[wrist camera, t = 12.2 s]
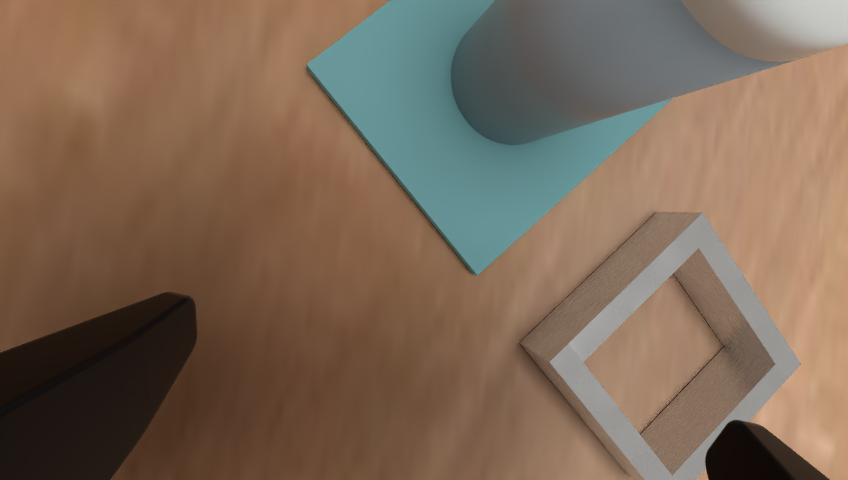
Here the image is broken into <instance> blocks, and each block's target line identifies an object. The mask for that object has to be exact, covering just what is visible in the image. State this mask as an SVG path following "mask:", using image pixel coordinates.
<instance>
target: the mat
mask: <svg viewBox="0 0 848 480" xmlns="http://www.w3.org/2000/svg"><path fill="white" fill-rule="evenodd" d="M494 1H495V0H390V1H389V2H388V3H386V4H385V5H384V6H382V7H381V8H380V9H378V10H377V11H376V12H375V13H373V14H372V15H371V16H369V17H368V18H367V19H365V20H364V21H363V22H362V23H360V24H359V25H358V26H356V27H355V28H354V29H352V30H351V31H350V32H348V33H347V34H346V35H345V36H343V37H342V38H341V39H339V40H338V41H337V42H335V43H334V44H333V45H331V46H330V47H329V48H328V49H326V50H325V51H324V52H322V53H321V54H320V55H318V56H317V57H316V58H315V59H313V60H312V61H311V62H309V63H308V64H307V70H308V72H309V73H310V74H311V75H312V77H313V78H314V79H315V80H316V81H317V83H318V84H319V85H320V86H321V88H322V89H323V90H324V91H325V93H326V94H327V95H328V96H329V97H330V99H331V100H332V101H333V102H334V104H335V105H336V106H337V107H338V109H339V110H340V111H341V112H342V113H343V115H344V116H345V117H346V118H347V120H348V121H349V122H350V123H351V125H352V126H353V127H354V128H355V129H356V131H357V132H358V133H359V134H360V136H361V137H362V138H363V139H364V141H365V142H366V143H367V144H368V146H369V147H370V148H371V149H372V150H373V152H374V153H375V154H376V155H377V157H378V158H379V159H380V160H381V162H382V163H383V164H384V165H385V166H386V168H387V169H388V170H389V171H390V173H391V174H392V175H393V176H394V178H395V179H396V180H397V181H398V182H399V184H400V185H401V186H402V187H403V189H404V190H405V191H406V192H407V194H408V195H409V196H410V197H411V198H412V200H413V201H414V202H415V203H416V205H417V206H418V207H419V208H420V210H421V211H422V212H423V213H424V214H425V216H426V217H427V218H428V219H429V221H430V222H431V223H432V224H433V226H434V227H435V228H436V229H437V230H438V232H439V233H440V234H441V235H442V237H443V238H444V239H445V240H446V242H447V243H448V244H449V245H450V246H451V248H452V249H453V250H454V251H455V253H456V254H457V255H458V256H459V258H460V259H461V260H462V261H463V262H464V264H465V265H466V266H467V267H468V269H469V270H470V271H471V272H472V273H473V274H475V275H479V274H480V273H481V272H482V271H483V270H484V269H485V268H486V267H487V266H489V265H490V264H491V263H492V262H493V261H494V260H495V259H496V258H497V257H498V256H500V255H501V254H502V253H503V252H504V251H505V250H506V249H507V248H508V247H509V246H511V245H512V244H513V243H514V242H515V241H516V240H517V239H518V238H519V237H520V236H522V235H523V234H524V233H525V232H526V231H527V230H528V229H529V228H530V227H531V226H533V225H534V224H535V223H536V222H537V221H538V220H539V219H540V218H541V217H542V216H544V215H545V214H546V213H547V212H548V211H549V210H550V209H551V208H552V207H553V206H555V205H556V204H557V203H558V202H559V201H560V200H561V199H562V198H563V197H564V196H566V195H567V194H568V193H569V192H570V191H571V190H572V189H573V188H574V187H575V186H577V185H578V184H579V183H580V182H581V181H582V180H583V179H584V178H585V177H587V176H588V175H589V174H590V173H591V172H592V171H593V170H594V169H595V168H596V167H598V166H599V165H600V164H601V163H602V162H603V161H604V160H605V159H606V158H607V157H609V156H610V155H611V154H612V153H613V152H614V151H615V150H616V149H617V148H618V147H620V146H621V145H622V144H623V143H624V142H625V141H626V140H627V139H628V138H629V137H631V136H632V135H633V134H634V133H635V132H636V131H637V130H638V129H639V128H640V127H642V126H643V125H644V124H645V123H646V122H647V121H648V120H649V119H650V118H651V117H653V116H654V115H655V114H656V113H657V112H658V111H659V110H660V109H661V108H662V107H664V106H665V105H666V104H667V103H668V102H669V101H670V100H671V99H672V98H671V99H668V100H665V101H661V102H658V103H655V104H652V105H648V106H645V107H642V108H639V109H636V110H632V111H629V112H626V113H623V114H619V115H616V116H613V117H610V118H606V119H603V120H600V121H597V122H593V123H590V124H587V125H584V126H581V127H577V128H574V129H571V130H568V131H564V132H561V133H558V134H555V135H551V136H548V137H545V138H542V139H538V140H535V141H532V142H529V143H526V144H519V145H508V144H501V143H498V142H494V141H492V140H490V139H488V138H486V137H484V136H483V135H481V134H480V133H478V132H477V131H476V130H475V129H474V128H473V127H472V126H471V125H470V124H469V123H468V122H467V121H466V119H465V118H464V117H463V115H462V113H461V112H460V110H459V108H458V106H457V103H456V101H455V98H454V94H453V90H452V84H451V69H452V62H453V57H454V54H455V51H456V49H457V47H458V45H459V43H460V41H461V39H462V38H463V37H464V35H465V34H466V33H467V32H468V30H469V29H470V28H471V27H472V26H473V25H474V24H475V22H476V21H477V20H478V19H479V18H480V17H481V16H482V15H483V13H484V12H485V11H486V10H487V9H488V8H489V7H490V5H491V4H492V3H493V2H494Z"/></svg>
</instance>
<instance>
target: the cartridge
mask: <svg viewBox="0 0 848 480" xmlns="http://www.w3.org/2000/svg"><path fill="white" fill-rule="evenodd" d="M846 44H848V0H495V1H494V2H493V3H492V4H491V5H490V7H489V8H488V9H487V10H486V11H485V12H484V13H483V15H482V16H481V17H480V18H479V19H478V20H477V21H476V22H475V24H474V25H473V26H472V27H471V28H470V29H469V30H468V32H467V33H466V34H465V35H464V37H463V38H462V39H461V41H460V43H459V45H458V47H457V49H456V51H455V54H454V57H453V62H452V69H451V84H452V90H453V94H454V98H455V101H456V103H457V106H458V108H459V110H460V112H461V113H462V115H463V117H464V118H465V119H466V121H467V122H468V123H469V124H470V125H471V126H472V127H473V128H474V129H475V130H476V131H477V132H478V133H480V134H481V135H483V136H484V137H486V138H488V139H490V140H492V141H494V142H498V143H501V144H508V145H519V144H526V143H529V142H532V141H535V140H538V139H542V138H545V137H548V136H551V135H555V134H558V133H561V132H564V131H568V130H571V129H574V128H577V127H581V126H584V125H587V124H590V123H593V122H597V121H600V120H603V119H606V118H610V117H613V116H616V115H619V114H623V113H626V112H629V111H632V110H636V109H639V108H642V107H645V106H648V105H652V104H655V103H658V102H661V101H665V100H668V99H671V98H674V97H678V96H681V95H684V94H687V93H691V92H694V91H697V90H700V89H703V88H707V87H710V86H713V85H716V84H720V83H723V82H726V81H729V80H733V79H736V78H739V77H742V76H746V75H749V74H752V73H755V72H758V71H762V70H765V69H768V68H771V67H775V66H778V65H781V64H784V63H788V62H791V61H794V60H797V59H800V58H804V57H807V56H810V55H813V54H817V53H820V52H823V51H826V50H830V49H833V48H836V47H839V46H843V45H846Z"/></svg>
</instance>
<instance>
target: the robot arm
mask: <svg viewBox="0 0 848 480" xmlns="http://www.w3.org/2000/svg"><path fill="white" fill-rule="evenodd" d="M196 339H197V325H196V308H195V302H194V300H193V298H191V297H190V296H186V295H182V294H178V293H173V292H165V293H162V294H159V295H156V296H154V297H151V298H148V299H146V300H143V301H140V302H137V303H135V304H132V305H129V306H126V307H124V308H121V309H118V310H115V311H113V312H110V313H107V314H104V315H102V316H99V317H96V318H94V319H91V320H88V321H85V322H83V323H80V324H77V325H74V326H72V327H69V328H66V329H63V330H61V331H58V332H55V333H52V334H50V335H47V336H44V337H41V338H39V339H36V340H33V341H31V342H28V343H25V344H22V345H20V346H17V347H14V348H11V349H9V350H6V351H3V352H0V480H110V479H111V478H112V477H113V475H114V474H115V473H116V471H117V470H118V468H119V467H120V466H121V464H122V463H123V462H124V460H125V459H126V457H127V456H128V455H129V453H130V452H131V451H132V449H133V448H134V446H135V445H136V444H137V442H138V441H139V439H140V438H141V436H142V435H143V433H144V432H145V430H146V429H147V427H148V426H149V424H150V422H151V421H152V419H153V417H154V416H155V414H156V412H157V411H158V409H159V407H160V405H161V404H162V402H163V400H164V399H165V397H166V395H167V393H168V392H169V390H170V388H171V387H172V385H173V383H174V381H175V380H176V378H177V376H178V374H179V373H180V371H181V369H182V368H183V366H184V364H185V362H186V361H187V359H188V357H189V356H190V354H191V352H192V350H193V348H194V346H195V343H196ZM705 466H706V471H707V475H708V479H709V480H830V479H828V478H827V477H826V476H825V475H823V474H822V473H821V472H820V471H818V470H817V469H816V468H815V467H813V466H812V465H811V464H810V463H808V462H807V461H806V460H805V459H803V458H802V457H801V456H800V455H798V454H797V453H796V452H794V451H793V450H792V449H791V448H789V447H788V446H787V445H786V444H784V443H783V442H782V441H781V440H779V439H778V438H777V437H776V436H774V435H773V434H772V433H771V432H769V431H768V430H767V429H766V428H764V427H763V426H761V425H758V424H755V423H750V422H746V421H741V420H732V421H730V422H728V423H727V424H726V425H725V427H724V428H723V430H722V431H721V432H720V434H719V435H718V436H717V438H716V439H715V440H714V442H713V443H712V445H711V446H710V447H709V449H708V450H707V453H706V457H705Z"/></svg>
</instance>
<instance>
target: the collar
mask: <svg viewBox="0 0 848 480" xmlns="http://www.w3.org/2000/svg"><path fill="white" fill-rule="evenodd" d="M673 273H674V275H675V276H676V278H677V279H678V280H679V282H680V283H681V285H682V286H683V288H684V289H685V291H686V292H687V294H688V295H689V296H690V298H691V299H692V301H693V302H694V304H695V305H696V307H697V308H698V309H699V311H700V312H701V314H702V315H703V317H704V318H705V320H706V321H707V323H708V324H709V325H710V327H711V328H712V330H713V331H714V333H715V334H716V336H717V337H718V338H719V340H720V341H721V343H722V344H723V346H724V347H723V348H722V349H721V351H720V352H719V353H718V354H717V355H716V356H715V357H714V358H713V359H712V360H711V361H710V362H709V363H708V364H707V365H706V366H705V367H704V368H703V369H702V370H701V371H700V372H699V374H698V375H697V376H696V377H695V378H694V379H693V380H692V381H691V382H690V383H689V384H688V385H687V386H686V387H685V388H684V389H683V390H682V391H681V392H680V393H679V394H678V395H677V397H676V398H675V399H674V400H673V401H672V402H671V403H670V404H669V405H668V406H667V407H666V408H665V409H664V410H663V411H662V412H661V413H660V414H659V415H658V416H657V417H656V418H655V420H654V421H653V422H652V423H651V424H650V425H649V426H648V427H647V428H646V429H645V430H644V431H643V432H642V433H641V434H639V433H638V431H637V430H636V429H635V428H634V426H633V425H632V424H631V423H630V421H629V420H628V419H627V417H626V416H625V415H624V414H623V412H622V411H621V410H620V409H619V407H618V406H617V405H616V403H615V402H614V401H613V400H612V398H611V397H610V396H609V395H608V393H607V392H606V391H605V390H604V388H603V387H602V386H601V384H600V383H599V382H598V381H597V379H596V378H595V377H594V376H593V374H592V373H591V372H590V370H589V369H588V368H587V367H586V365H585V364H584V363H583V362H584V361H585V360H586V359H587V358H588V357H589V356H590V355H591V354H592V353H593V352H594V351H595V350H596V349H597V348H598V347H599V346H600V345H601V344H602V343H603V342H604V341H605V340H606V339H607V338H608V337H609V336H610V335H611V334H612V333H613V332H614V331H615V330H616V329H617V328H618V327H619V326H620V325H621V324H622V323H623V322H624V321H625V320H626V319H627V318H628V317H629V316H630V315H632V314H633V313H634V312H635V311H636V310H637V309H638V308H639V307H640V306H641V305H642V304H643V303H644V302H645V301H646V300H647V299H648V298H649V297H650V296H651V295H652V294H653V293H654V292H655V291H656V290H657V289H658V288H659V287H660V286H661V285H662V284H663V283H664V282H665V281H666V280H667V279H668V278H669V277H670V276H671V275H672V274H673ZM520 344H521V345H522V346H523V347H524V349H525V350H526V351H527V352H528V354H529V355H530V356H531V357H532V358H533V360H534V361H535V362H536V363H537V365H538V366H539V367H540V368H541V369H542V371H543V372H544V373H545V374H546V376H547V377H548V378H549V379H550V380H551V382H552V383H553V384H554V385H555V387H556V388H557V389H558V390H559V391H560V393H561V394H562V395H563V396H564V398H565V399H566V400H567V401H568V402H569V404H570V405H571V406H572V407H573V409H574V410H575V411H576V412H577V413H578V415H579V416H580V417H581V418H582V420H583V421H584V422H585V423H586V424H587V426H588V427H589V428H590V429H591V431H592V432H593V433H594V434H595V435H596V437H597V438H598V439H599V440H600V442H601V443H602V444H603V445H604V446H605V448H606V449H607V450H608V451H609V453H610V454H611V455H612V456H613V457H614V459H615V460H616V461H617V462H618V464H619V465H620V466H621V467H622V468H623V470H624V471H625V472H626V473H627V474H628V475H629V476H630V477H631V478H632V479H633V480H695V479H696V478H697V477H698V476H699V475H700V474H701V473H702V472H703V471H704V470H705V469H706V466H705V457H706V453H707V450H708V449H709V447H710V446H711V445H712V443H713V442H714V440H715V439H716V438H717V436H718V435H719V434H720V432H721V431H722V430H723V428H724V427H725V425H726V424H727V423H728V422H730V421H732V420H741V421H746V422H749V420H750V419H751V418H752V417H753V416H754V415H755V414H756V413H757V412H758V411H759V410H760V408H761V407H762V406H763V405H764V404H765V403H766V402H767V401H768V400H769V399H770V398H771V396H772V395H773V394H774V393H775V392H776V391H777V390H778V389H779V388H780V387H781V386H782V384H783V383H784V382H785V381H786V380H787V379H788V378H789V377H790V376H791V375H792V374H793V372H794V371H795V370H796V369H797V368H798V367H799V366H800V365H801V363H800V362H799V360H798V359H797V357H796V356H795V354H794V353H793V351H792V350H791V348H790V346H789V345H788V343H787V342H786V340H785V339H784V337H783V336H782V334H781V333H780V331H779V329H778V328H777V326H776V325H775V323H774V322H773V320H772V319H771V317H770V316H769V314H768V312H767V311H766V309H765V308H764V306H763V305H762V303H761V302H760V300H759V299H758V297H757V295H756V294H755V292H754V291H753V289H752V288H751V286H750V285H749V283H748V282H747V280H746V279H745V277H744V275H743V274H742V272H741V271H740V269H739V268H738V266H737V265H736V263H735V262H734V260H733V258H732V257H731V255H730V254H729V252H728V251H727V249H726V248H725V246H724V245H723V243H722V241H721V240H720V238H719V237H718V235H717V234H716V232H715V231H714V229H713V228H712V226H711V224H710V223H709V221H708V220H707V218H706V217H705V215H704V214H703V213H688V212H656V213H655V214H654V215H653V216H652V217H651V218H650V219H649V220H648V221H647V222H646V223H645V224H644V225H643V226H641V227H640V228H639V229H638V230H637V231H636V232H635V233H634V234H633V235H632V236H631V237H630V238H629V239H628V240H627V241H626V242H625V243H624V244H623V245H622V246H620V247H619V248H618V249H617V250H616V251H615V252H614V253H613V254H612V255H611V256H610V257H609V258H608V259H607V260H606V261H605V262H604V263H603V264H602V265H601V266H599V267H598V268H597V269H596V270H595V271H594V272H593V273H592V274H591V275H590V276H589V277H588V278H587V279H586V280H585V281H584V282H583V283H582V284H581V285H580V286H579V287H577V288H576V289H575V290H574V291H573V292H572V293H571V294H570V295H569V296H568V297H567V298H566V299H565V300H564V301H563V302H562V303H561V304H560V305H559V306H558V307H556V308H555V309H554V310H553V311H552V312H551V313H550V314H549V315H548V316H547V317H546V318H545V319H544V320H543V321H542V322H541V323H540V324H539V325H538V326H537V327H535V328H534V329H533V330H532V331H531V332H530V333H529V334H528V335H527V336H526V337H525V338H524V339H523V340H522V341H521V342H520Z"/></svg>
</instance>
